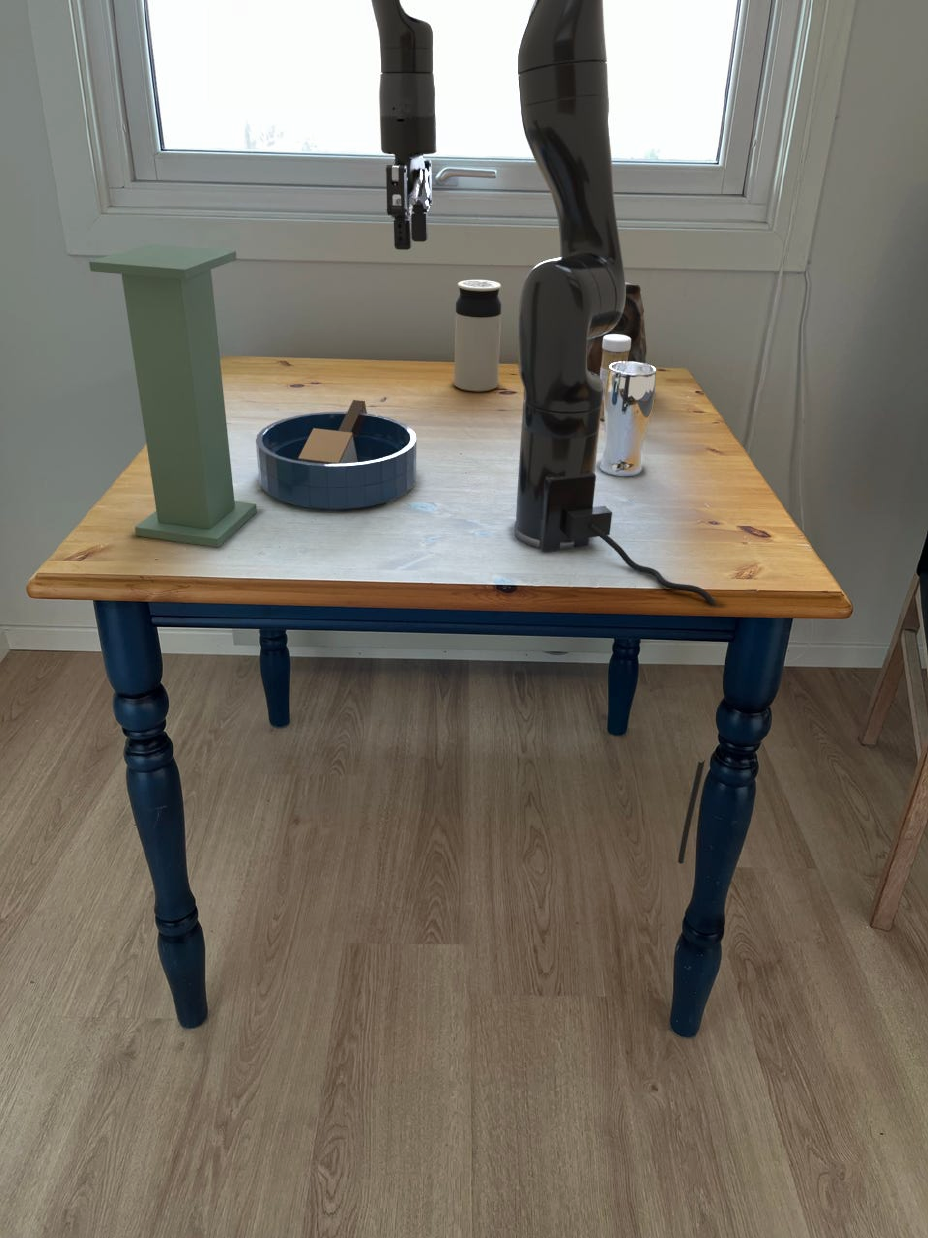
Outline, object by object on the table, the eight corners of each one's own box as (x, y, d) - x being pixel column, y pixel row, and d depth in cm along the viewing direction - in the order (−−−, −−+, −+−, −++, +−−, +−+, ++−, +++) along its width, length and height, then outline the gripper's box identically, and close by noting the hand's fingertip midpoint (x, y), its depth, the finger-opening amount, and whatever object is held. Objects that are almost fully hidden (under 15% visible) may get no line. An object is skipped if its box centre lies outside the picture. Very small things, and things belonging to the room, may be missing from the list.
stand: (182, 500, 126) (148, 243, 109) (258, 510, 124) (236, 250, 107) (133, 537, 116) (88, 261, 99) (216, 549, 113) (184, 269, 97)
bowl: (435, 503, 127) (436, 457, 124) (273, 521, 121) (270, 473, 118) (392, 448, 145) (392, 406, 141) (249, 461, 138) (245, 418, 135)
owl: (638, 406, 166) (653, 287, 156) (567, 398, 168) (577, 281, 158) (646, 386, 176) (660, 274, 166) (579, 379, 179) (589, 268, 169)
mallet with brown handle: (343, 411, 139) (337, 381, 134) (379, 415, 137) (374, 385, 133) (305, 488, 129) (298, 458, 125) (344, 493, 128) (338, 463, 124)
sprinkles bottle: (627, 418, 160) (637, 338, 153) (607, 423, 158) (616, 341, 151) (609, 411, 163) (618, 331, 156) (589, 415, 161) (597, 334, 154)
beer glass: (616, 456, 144) (627, 358, 137) (653, 469, 140) (668, 368, 132) (587, 467, 140) (597, 366, 132) (625, 481, 136) (638, 377, 128)
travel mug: (474, 395, 169) (477, 290, 160) (445, 384, 174) (447, 282, 165) (506, 387, 173) (511, 285, 164) (477, 377, 178) (481, 277, 169)
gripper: (396, 112, 131) (400, 238, 139) (364, 113, 119) (370, 251, 127) (449, 112, 130) (449, 239, 137) (421, 113, 118) (424, 252, 125)
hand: (411, 244), depth 132 cm, fingers open, 8 cm apart
